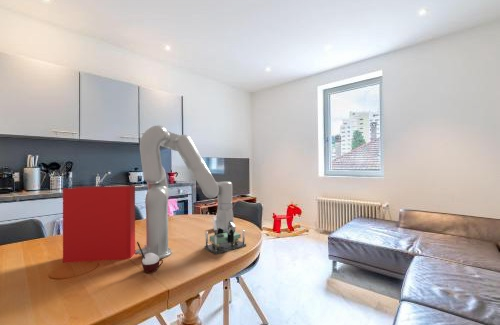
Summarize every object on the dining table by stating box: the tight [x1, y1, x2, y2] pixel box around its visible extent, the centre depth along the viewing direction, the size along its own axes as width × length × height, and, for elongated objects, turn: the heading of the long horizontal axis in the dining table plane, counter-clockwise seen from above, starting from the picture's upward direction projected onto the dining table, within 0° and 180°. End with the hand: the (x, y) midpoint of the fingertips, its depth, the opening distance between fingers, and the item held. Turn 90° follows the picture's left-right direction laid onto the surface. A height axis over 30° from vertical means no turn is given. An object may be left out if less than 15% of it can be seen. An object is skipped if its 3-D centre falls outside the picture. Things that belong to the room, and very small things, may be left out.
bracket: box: [212, 216, 218, 231], centre depth 149 cm, size 13×7×8 cm, turn 102°
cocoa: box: [136, 241, 164, 274], centre depth 92 cm, size 10×6×12 cm, turn 101°
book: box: [62, 185, 136, 263], centre depth 105 cm, size 27×8×32 cm, turn 97°
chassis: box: [203, 229, 247, 255], centre depth 117 cm, size 18×11×8 cm, turn 128°
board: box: [209, 231, 242, 244], centre depth 117 cm, size 14×7×3 cm, turn 127°
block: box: [214, 230, 231, 235], centre depth 131 cm, size 8×4×4 cm, turn 128°
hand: (225, 239), depth 117 cm, fingers open, 9 cm apart
